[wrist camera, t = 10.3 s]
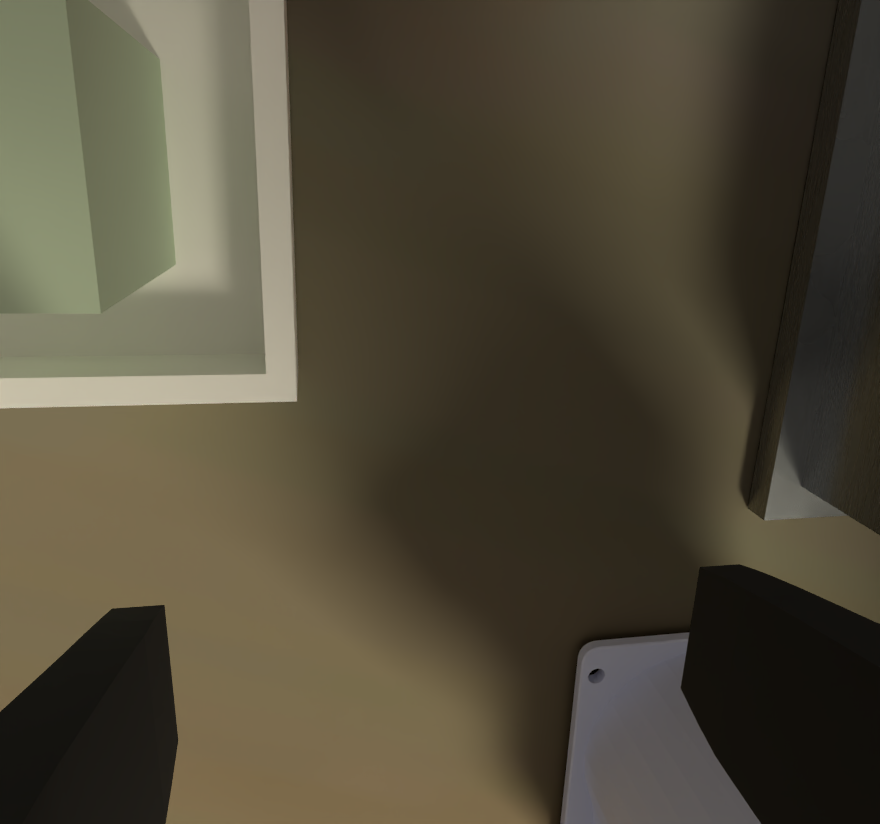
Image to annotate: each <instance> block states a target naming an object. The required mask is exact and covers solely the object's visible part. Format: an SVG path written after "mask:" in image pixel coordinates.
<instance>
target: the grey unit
mask: <svg viewBox="0 0 880 824" xmlns="http://www.w3.org/2000/svg"><path fill="white" fill-rule="evenodd" d="M748 509H750V510H751V511H752V512H754V513H755V514H756V515H758V516H759V517H760V518H762V519H763V520H778V519H795V518H812V517H829V516H846V515H848V516H850V517H851V518H853V519H855V520H856V521H858V522H859V523H861V524H863V525H864V526H866V527H868V528H869V529H871V530H872V531H874V532H876V533H877V534H879V535H880V0H839V1H838V7H837V12H836V18H835V24H834V29H833V35H832V40H831V46H830V52H829V57H828V63H827V68H826V74H825V80H824V85H823V91H822V96H821V102H820V108H819V113H818V119H817V124H816V130H815V136H814V141H813V147H812V152H811V158H810V164H809V169H808V175H807V180H806V186H805V192H804V197H803V203H802V208H801V214H800V220H799V225H798V231H797V236H796V242H795V247H794V253H793V259H792V264H791V270H790V275H789V281H788V287H787V292H786V298H785V303H784V309H783V315H782V320H781V326H780V331H779V337H778V343H777V348H776V354H775V359H774V365H773V371H772V376H771V382H770V387H769V393H768V399H767V404H766V410H765V415H764V421H763V427H762V432H761V438H760V443H759V449H758V455H757V460H756V466H755V471H754V477H753V483H752V488H751V494H750V499H749V505H748Z"/></svg>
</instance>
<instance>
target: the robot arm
mask: <svg viewBox="0 0 880 824" xmlns="http://www.w3.org/2000/svg"><path fill="white" fill-rule="evenodd" d="M595 669H599V670H598V671H597V672H596V673H595V674H592V675H589V673H590V672H591V671H592V670H595ZM177 744H178V734H177V724H176V715H175V705H174V695H173V685H172V675H171V666H170V656H169V646H168V636H167V626H166V617H165V607H164V605H158V606H144V607H130V608H116V609H111V610H110V611H109V612H108V613H107V614H106V615H104V616H103V617H102V618H101V619H100V620H99V621H98V622H97V623H96V624H95V625H93V626H92V627H91V628H90V629H89V630H88V631H87V632H86V633H85V634H84V635H83V636H82V637H81V638H80V639H79V640H78V641H77V642H75V643H74V644H73V645H72V646H71V647H70V648H69V649H68V650H67V651H66V652H65V653H64V654H63V655H62V656H61V657H60V658H58V659H57V660H56V661H55V662H54V663H53V664H52V665H51V666H50V667H49V668H48V669H47V670H46V671H45V672H43V673H42V674H41V675H40V676H39V677H38V678H37V679H36V680H35V681H34V682H33V683H31V684H30V685H29V686H28V687H27V688H26V689H25V690H24V691H23V692H22V693H20V694H19V695H18V696H17V697H16V698H15V699H14V700H13V701H12V702H11V703H9V704H8V705H7V706H6V707H5V708H4V709H3V710H2V711H1V712H0V824H165V823H166V817H167V811H168V804H169V798H170V792H171V786H172V779H173V772H174V765H175V758H176V751H177ZM560 824H880V624H878V623H876V622H874V621H872V620H869V619H867V618H865V617H863V616H861V615H858V614H856V613H854V612H852V611H850V610H847V609H845V608H843V607H841V606H839V605H836V604H834V603H832V602H830V601H828V600H825V599H823V598H821V597H819V596H817V595H814V594H812V593H810V592H808V591H805V590H803V589H801V588H799V587H796V586H794V585H792V584H789V583H787V582H785V581H782V580H780V579H778V578H775V577H773V576H770V575H768V574H765V573H763V572H760V571H757V570H755V569H752V568H749V567H746V566H743V565H739V564H738V565H724V566H710V567H700V570H699V576H698V582H697V588H696V595H695V601H694V607H693V613H692V620H691V626H690V632H687V633H676V634H665V635H653V636H642V637H631V638H619V639H608V640H597V641H592V642H589V643H587V644H586V645H584V646H583V647H582V649H581V650H580V652H579V655H578V661H577V670H576V680H575V689H574V699H573V708H572V718H571V727H570V737H569V746H568V756H567V765H566V775H565V784H564V793H563V803H562V812H561V822H560Z"/></svg>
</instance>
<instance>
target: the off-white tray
mask: <svg viewBox="0 0 880 824" xmlns="http://www.w3.org/2000/svg"><path fill="white" fill-rule="evenodd" d="M89 1H90V2H91V3H92V4H93V5H95V6H96V7H97V8H98V9H99V10H101V11H102V12H103V13H104V14H105V15H107V16H108V17H109V18H110V19H112V20H113V21H114V22H115V23H116V24H118V25H119V26H120V27H121V28H122V29H124V30H125V31H126V32H127V33H128V34H130V35H131V36H132V37H133V38H135V39H136V40H137V41H138V42H139V43H141V44H142V45H143V46H144V47H145V48H147V49H148V50H149V51H150V52H151V53H153V54H154V55H155V56H156V57H157V58H159V59H160V68H161V81H162V93H163V106H164V119H165V131H166V144H167V157H168V169H169V182H170V195H171V207H172V220H173V232H174V245H175V258H176V265H174V266H173V267H171V268H170V269H168V270H167V271H165V272H164V273H162V274H161V275H159V276H158V277H156V278H155V279H153V280H152V281H150V282H149V283H147V284H145V285H144V286H142V287H141V288H139V289H138V290H136V291H135V292H133V293H132V294H130V295H129V296H127V297H126V298H124V299H123V300H121V301H119V302H118V303H116V304H115V305H113V306H112V307H110V308H109V309H107V310H106V311H104V312H103V313H101V314H0V408H33V407H76V406H120V405H164V404H207V403H251V402H294V401H297V386H298V346H297V315H296V283H295V252H294V221H293V189H292V158H291V127H290V95H289V64H288V33H287V1H286V0H89Z"/></svg>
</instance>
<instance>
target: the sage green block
mask: <svg viewBox="0 0 880 824" xmlns="http://www.w3.org/2000/svg"><path fill="white" fill-rule="evenodd" d="M174 265H176V258H175V245H174V232H173V220H172V207H171V195H170V182H169V169H168V157H167V144H166V131H165V119H164V106H163V93H162V81H161V68H160V59H159V58H157V57H156V56H155V55H154V54H153V53H151V52H150V51H149V50H148V49H147V48H145V47H144V46H143V45H142V44H141V43H139V42H138V41H137V40H136V39H135V38H133V37H132V36H131V35H130V34H128V33H127V32H126V31H125V30H124V29H122V28H121V27H120V26H119V25H118V24H116V23H115V22H114V21H113V20H112V19H110V18H109V17H108V16H107V15H105V14H104V13H103V12H102V11H101V10H99V9H98V8H97V7H96V6H95V5H93V4H92V3H91V2H90V1H89V0H0V314H101V313H103V312H104V311H106V310H107V309H109V308H110V307H112V306H113V305H115V304H116V303H118V302H119V301H121V300H123V299H124V298H126V297H127V296H129V295H130V294H132V293H133V292H135V291H136V290H138V289H139V288H141V287H142V286H144V285H145V284H147V283H149V282H150V281H152V280H153V279H155V278H156V277H158V276H159V275H161V274H162V273H164V272H165V271H167V270H168V269H170V268H171V267H173V266H174Z"/></svg>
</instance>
